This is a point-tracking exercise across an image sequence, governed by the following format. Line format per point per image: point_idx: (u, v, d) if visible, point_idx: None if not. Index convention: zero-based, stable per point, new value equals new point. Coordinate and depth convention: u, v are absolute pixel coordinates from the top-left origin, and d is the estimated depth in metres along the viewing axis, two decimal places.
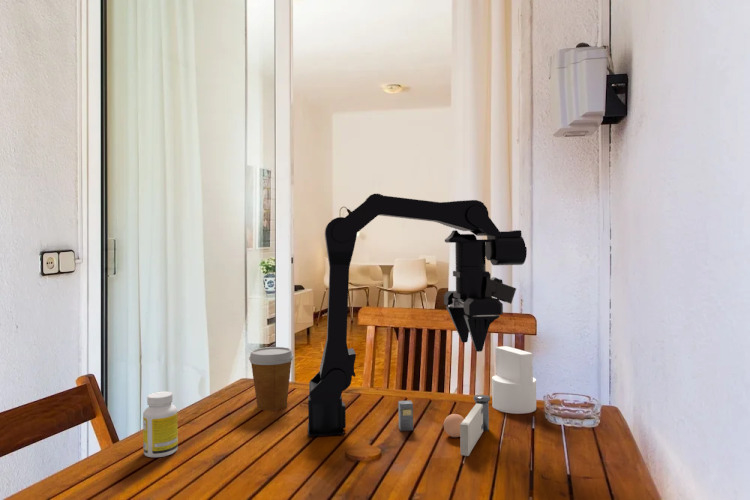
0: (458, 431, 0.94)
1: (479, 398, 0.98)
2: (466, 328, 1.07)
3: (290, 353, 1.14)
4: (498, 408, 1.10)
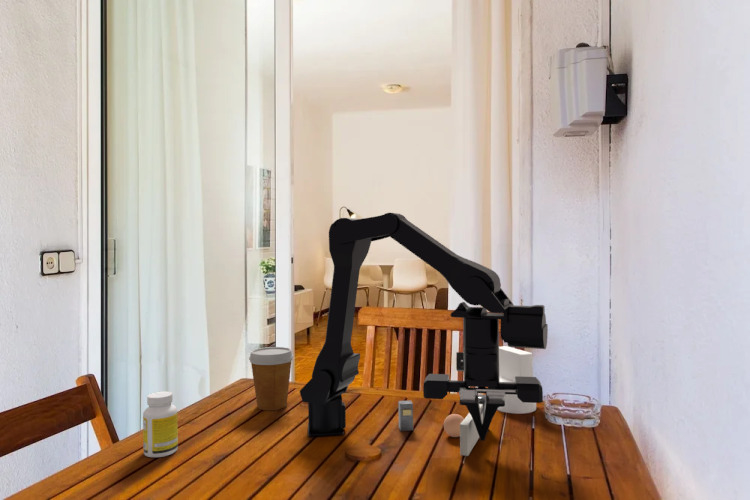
0: (458, 431, 0.94)
1: (479, 398, 0.98)
2: (481, 421, 0.88)
3: (290, 353, 1.14)
4: (498, 408, 1.10)
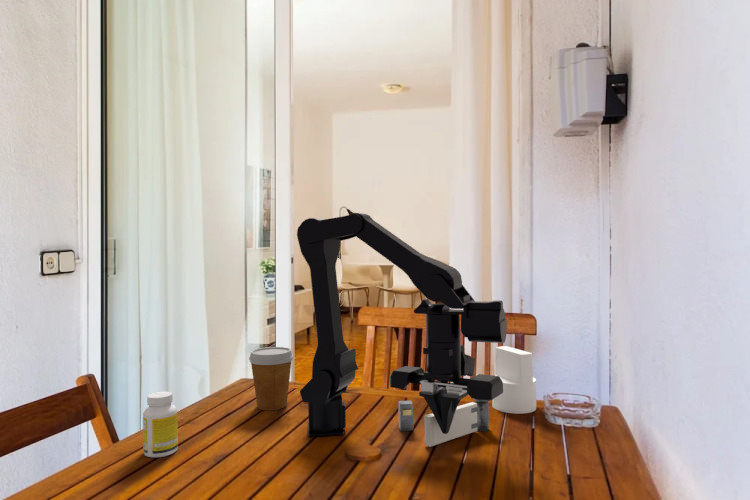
0: None
1: None
2: None
3: (290, 353, 1.14)
4: (498, 408, 1.10)
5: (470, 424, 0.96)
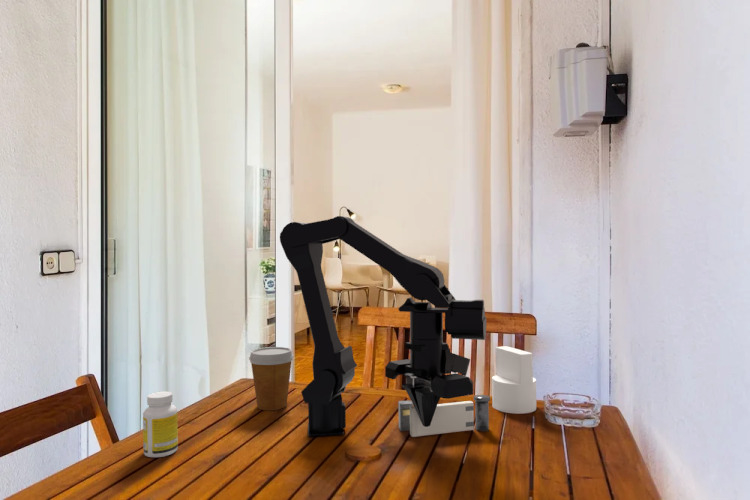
0: None
1: (479, 398, 0.98)
2: None
3: (290, 353, 1.14)
4: (498, 408, 1.10)
5: (464, 422, 0.97)
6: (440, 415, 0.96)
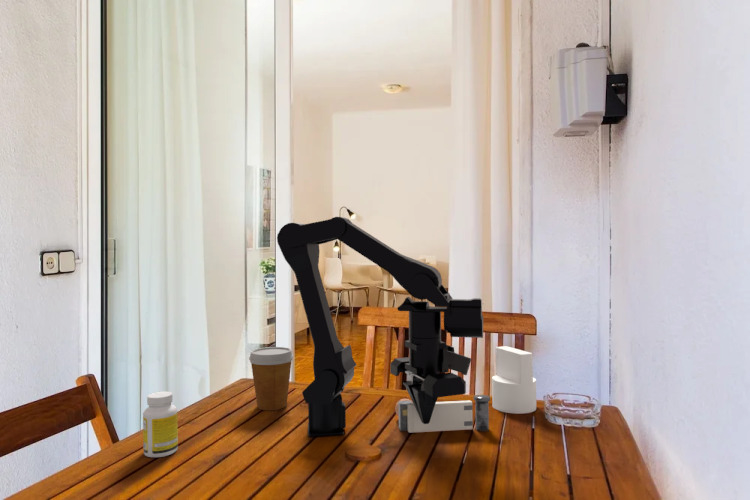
0: None
1: (479, 398, 0.98)
2: None
3: (290, 353, 1.14)
4: (498, 408, 1.10)
5: (462, 421, 0.98)
6: (437, 413, 0.97)
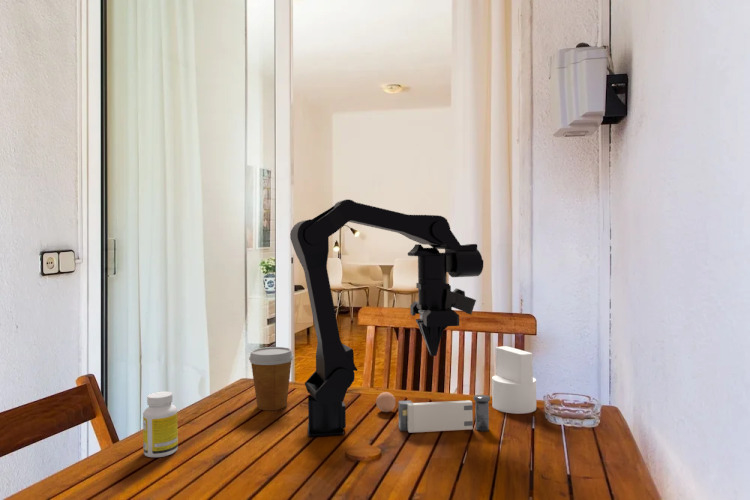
0: (377, 398, 1.11)
1: (479, 398, 0.98)
2: None
3: (290, 353, 1.14)
4: (498, 408, 1.10)
5: (462, 421, 0.98)
6: (437, 413, 0.97)
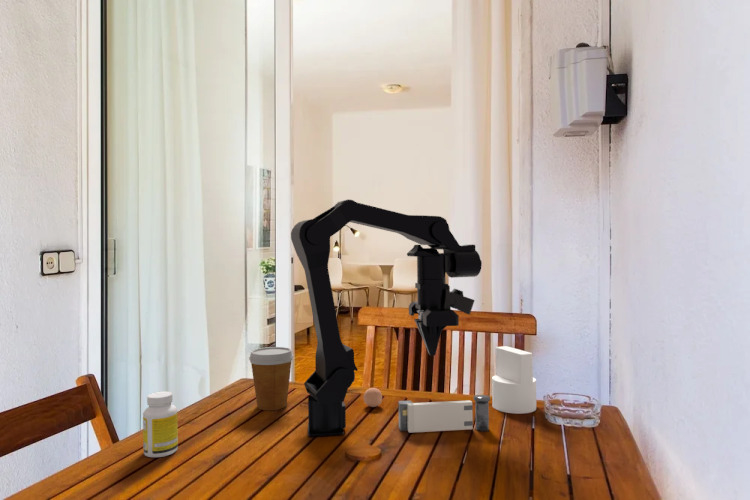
0: (371, 406, 1.12)
1: (479, 398, 0.98)
2: None
3: (290, 353, 1.14)
4: (498, 408, 1.10)
5: (462, 421, 0.98)
6: (437, 413, 0.97)
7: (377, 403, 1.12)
